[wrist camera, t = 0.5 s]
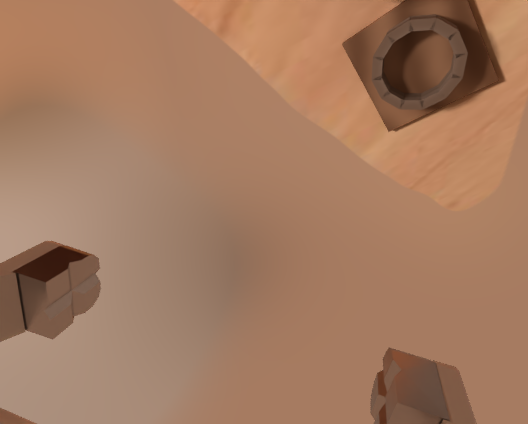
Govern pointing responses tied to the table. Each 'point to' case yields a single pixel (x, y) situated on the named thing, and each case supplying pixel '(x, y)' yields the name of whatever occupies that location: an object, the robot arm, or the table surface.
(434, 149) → the table surface
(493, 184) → the table surface
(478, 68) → the holder
